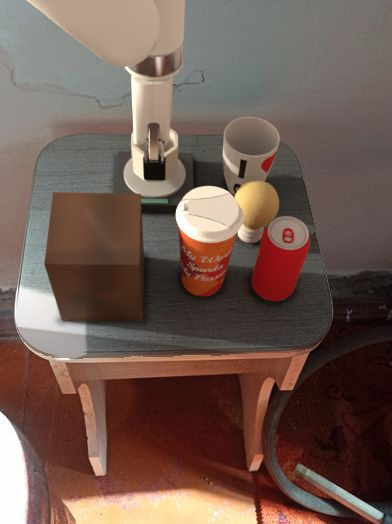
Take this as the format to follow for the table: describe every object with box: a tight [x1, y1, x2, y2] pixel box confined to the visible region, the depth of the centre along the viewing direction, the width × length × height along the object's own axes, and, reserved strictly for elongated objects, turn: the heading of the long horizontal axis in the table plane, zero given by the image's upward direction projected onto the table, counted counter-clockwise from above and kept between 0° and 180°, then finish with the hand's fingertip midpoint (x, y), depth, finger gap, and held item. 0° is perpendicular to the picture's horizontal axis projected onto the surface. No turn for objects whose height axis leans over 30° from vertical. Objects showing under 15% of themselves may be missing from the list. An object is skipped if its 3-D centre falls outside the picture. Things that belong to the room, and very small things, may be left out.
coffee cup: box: [175, 185, 244, 297], centre depth 74 cm, size 8×8×15 cm
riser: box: [43, 191, 145, 322], centre depth 74 cm, size 11×11×13 cm
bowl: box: [130, 127, 179, 182], centre depth 84 cm, size 7×7×5 cm
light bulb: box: [234, 181, 280, 244], centre depth 81 cm, size 6×6×10 cm
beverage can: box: [251, 215, 311, 302], centre depth 76 cm, size 6×6×12 cm
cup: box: [222, 116, 281, 197], centre depth 85 cm, size 8×8×10 cm
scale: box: [114, 150, 195, 213], centre depth 88 cm, size 12×11×2 cm
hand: (154, 159), depth 85 cm, fingers closed on bowl, 6 cm apart
